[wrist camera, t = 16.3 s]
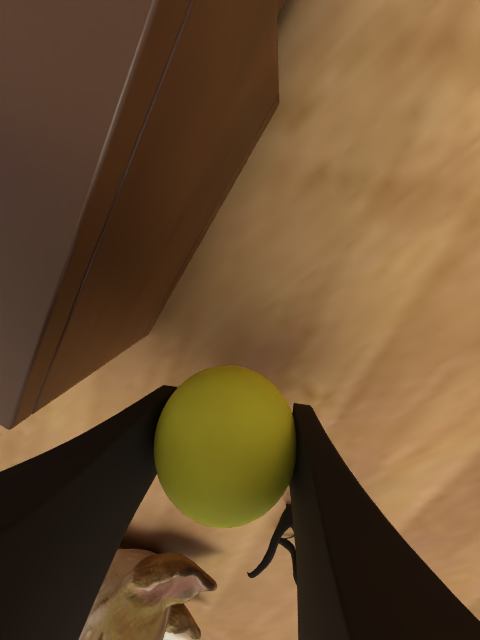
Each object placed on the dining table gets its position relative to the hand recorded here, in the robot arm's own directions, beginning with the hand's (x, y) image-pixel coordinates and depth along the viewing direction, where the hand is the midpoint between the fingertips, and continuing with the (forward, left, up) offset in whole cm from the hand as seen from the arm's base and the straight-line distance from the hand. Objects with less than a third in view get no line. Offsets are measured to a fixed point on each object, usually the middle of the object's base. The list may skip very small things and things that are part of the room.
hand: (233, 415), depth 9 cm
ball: (0, 0, -1) cm, 1 cm away
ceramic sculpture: (+4, -24, -5) cm, 25 cm away
